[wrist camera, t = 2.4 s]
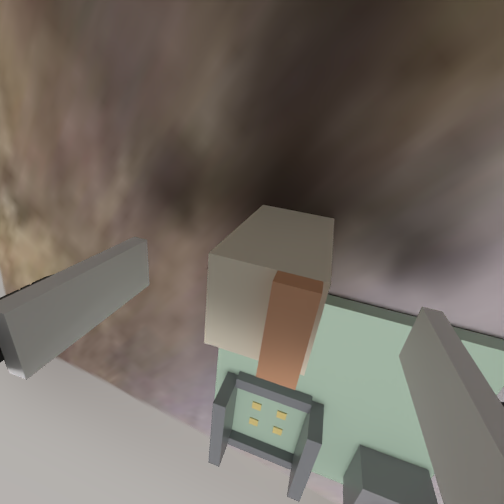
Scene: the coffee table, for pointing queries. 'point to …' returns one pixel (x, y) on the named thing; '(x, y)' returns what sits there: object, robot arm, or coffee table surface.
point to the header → (308, 437)
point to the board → (354, 387)
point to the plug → (270, 290)
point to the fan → (385, 480)
